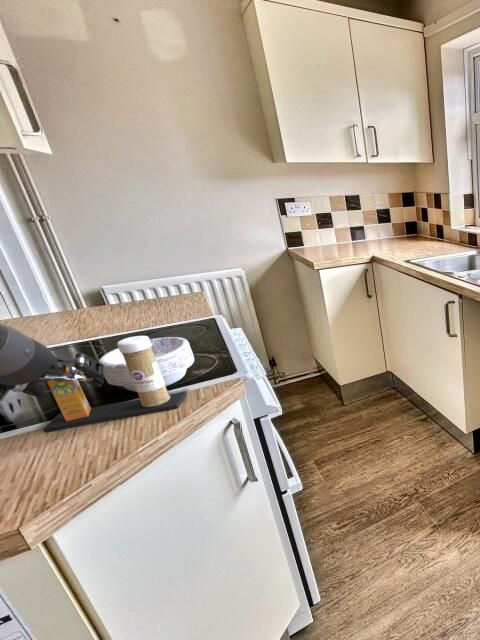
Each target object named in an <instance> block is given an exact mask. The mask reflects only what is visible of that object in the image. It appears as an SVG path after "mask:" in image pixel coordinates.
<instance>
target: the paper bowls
mask: <svg viewBox="0 0 480 640" xmlns="http://www.w3.org/2000/svg"><path fill="white" fill-rule="evenodd" d="M149 340H150V342H151V347H152V348H151V349H152V351H153V354H154V357H155V359H156V361H157V364H158V366H159V369H160V372H161V374H162V377H163V380H164V382H165V386H166V387H169V386H171V385H173V384H175V383H177V382H179V381H180V380H181V379H183V378H184V377H185V376H186V374H187V369H188V368H190V367H191V366H192V365H193V364H194V362H195V356H194V353H193V350H192V348H191V345H190V342H189V341H188V339H186V338H184V337H181V336H180V337H179V336H165V337H157V338H156V337H155V338H149ZM98 362H100V363H102V364H104V368H103V376H104V379H105V380H106V382H107V383H108V384H109V385H110V386H111V385H112V386H118V387H123V388H125V389H126V390H128V391H130V392H136V393H138V392H137V391H136V389H135V386H134V384H133V381H132V379H131V375H130V372H129V370H128V367H127V365H126V362H125V360H124V356H123V355H122V353H121V352H120V351H119V348H115V349H112V350H111V351H109V352H107V353H105V354H103V355H102V356H101V357H100V358H99V360H98Z"/></svg>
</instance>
